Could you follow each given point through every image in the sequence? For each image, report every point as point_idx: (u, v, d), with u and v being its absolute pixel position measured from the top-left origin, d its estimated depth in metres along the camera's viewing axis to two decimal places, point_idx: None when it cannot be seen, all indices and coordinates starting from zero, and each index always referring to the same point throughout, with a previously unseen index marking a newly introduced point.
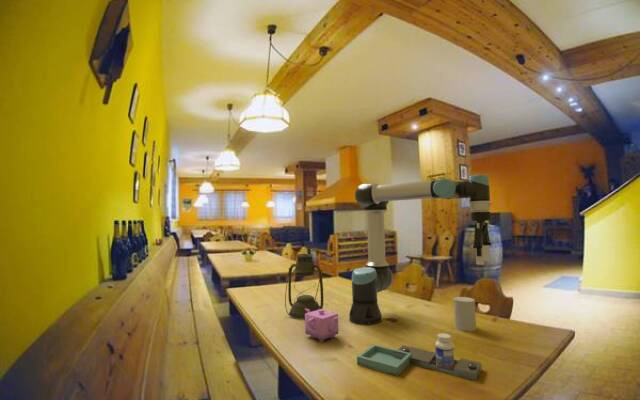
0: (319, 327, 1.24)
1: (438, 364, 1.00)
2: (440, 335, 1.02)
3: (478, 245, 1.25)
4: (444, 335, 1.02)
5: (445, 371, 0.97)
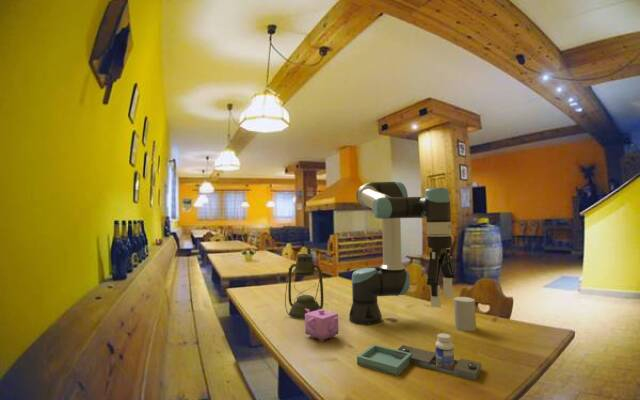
0: (319, 328, 1.24)
1: (438, 364, 1.00)
2: (440, 335, 1.02)
3: (432, 282, 0.94)
4: (444, 335, 1.02)
5: (445, 371, 0.97)
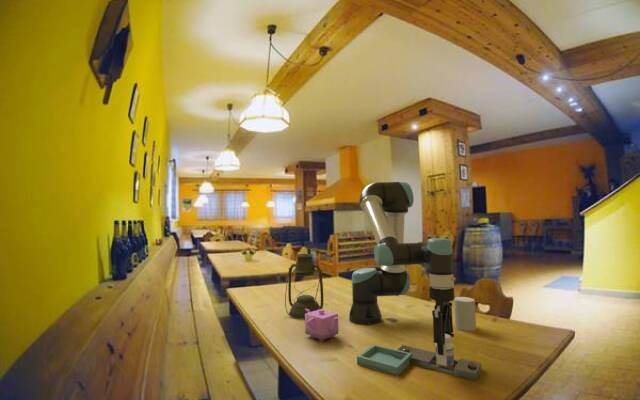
0: (319, 328, 1.24)
1: (438, 364, 1.00)
2: None
3: (439, 342, 0.96)
4: None
5: (445, 371, 0.97)
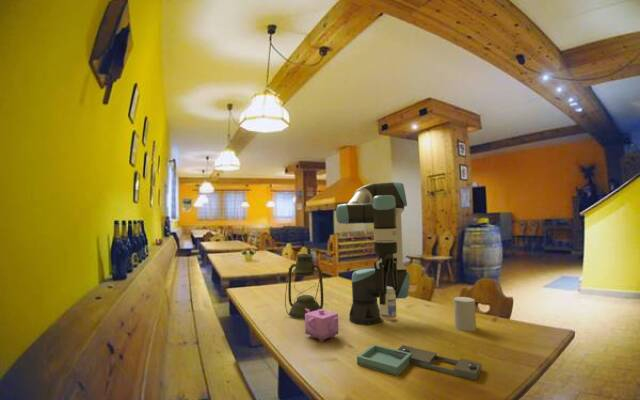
0: (319, 328, 1.24)
1: (381, 314, 1.04)
2: None
3: (380, 291, 1.01)
4: (387, 287, 1.06)
5: (445, 371, 0.97)
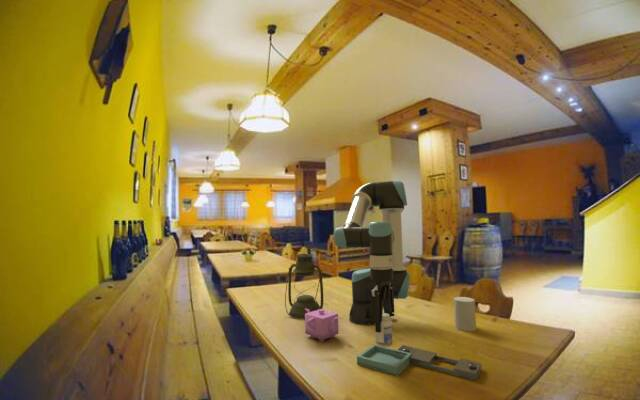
0: (319, 328, 1.24)
1: None
2: None
3: (375, 319, 1.00)
4: (383, 314, 1.06)
5: (445, 371, 0.97)
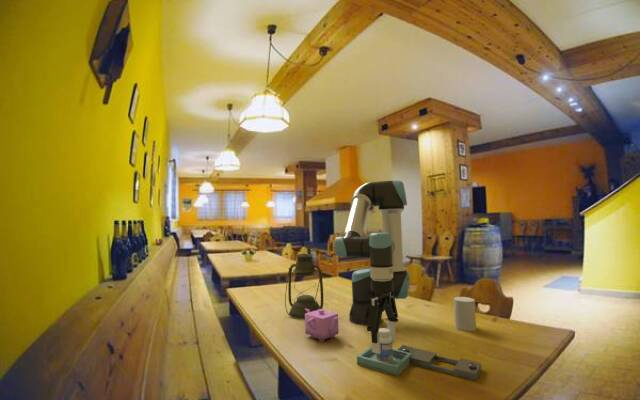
0: (319, 328, 1.24)
1: (377, 357, 1.04)
2: (380, 330, 1.05)
3: (371, 330, 0.98)
4: (384, 330, 1.05)
5: (445, 371, 0.97)
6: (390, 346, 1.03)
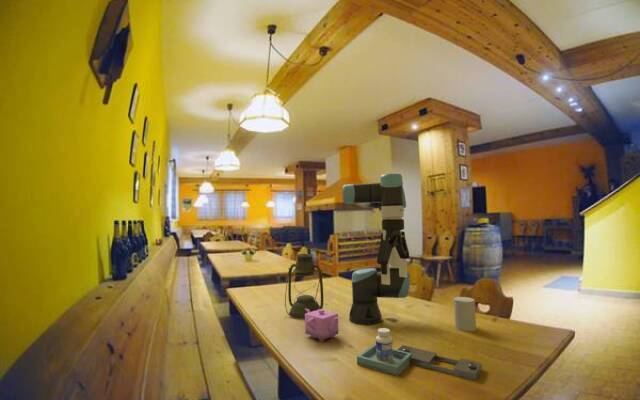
0: (319, 328, 1.24)
1: (377, 357, 1.04)
2: (380, 330, 1.05)
3: (381, 261, 1.01)
4: (384, 329, 1.05)
5: (445, 371, 0.97)
6: (390, 346, 1.03)
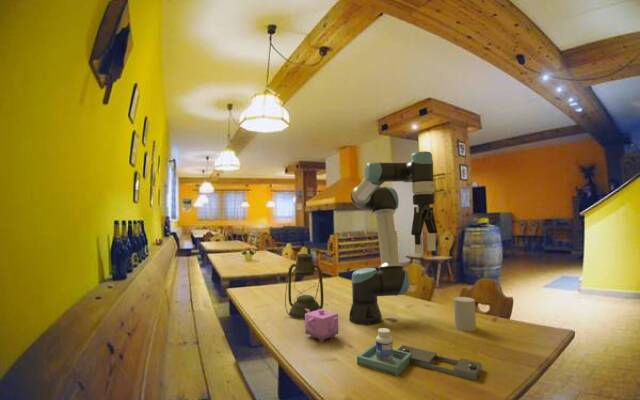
0: (319, 328, 1.24)
1: (377, 357, 1.04)
2: (380, 330, 1.05)
3: (416, 231, 1.08)
4: (384, 330, 1.05)
5: (445, 371, 0.97)
6: (390, 346, 1.03)
